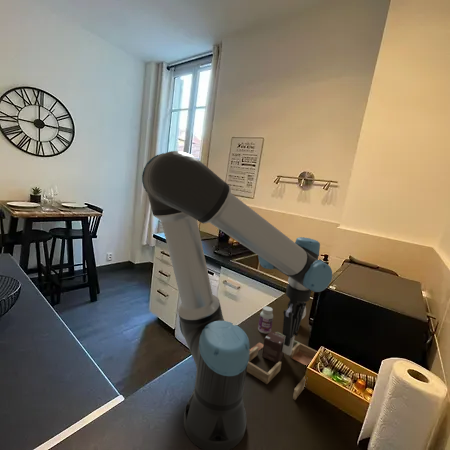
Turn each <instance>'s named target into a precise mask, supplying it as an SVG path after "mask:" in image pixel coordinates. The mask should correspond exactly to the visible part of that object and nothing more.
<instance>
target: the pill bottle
mask: <svg viewBox="0 0 450 450" xmlns="http://www.w3.org/2000/svg"><path fill="white" fill-rule="evenodd" d="M273 310H274V309H273V308H272V307H270V306H266V305H265V306H263V307H262V311H261V312H260V314H259V319H258V323H257V330H258V331H259V332H260V333H261V334H267V335H268V334H269V333H270V332H271V331H272V327H273V321H274V314H273Z"/></svg>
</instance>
